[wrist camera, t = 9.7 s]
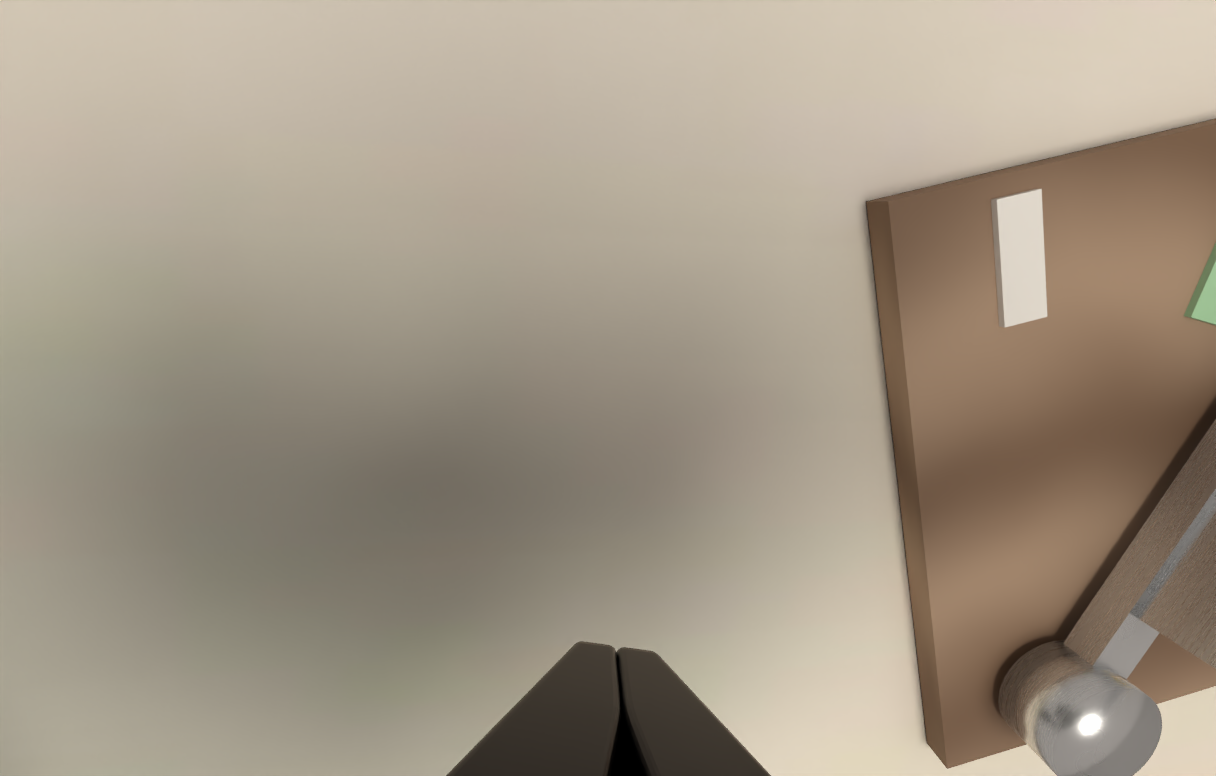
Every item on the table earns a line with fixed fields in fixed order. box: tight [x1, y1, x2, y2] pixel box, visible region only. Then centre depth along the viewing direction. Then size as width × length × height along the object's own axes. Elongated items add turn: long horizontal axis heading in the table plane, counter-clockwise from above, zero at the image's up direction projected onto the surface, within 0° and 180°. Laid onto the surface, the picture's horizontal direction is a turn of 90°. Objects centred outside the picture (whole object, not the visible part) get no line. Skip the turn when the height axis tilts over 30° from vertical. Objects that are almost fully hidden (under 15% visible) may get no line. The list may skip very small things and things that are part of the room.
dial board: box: [866, 119, 1216, 769], centre depth 19 cm, size 16×14×1 cm
